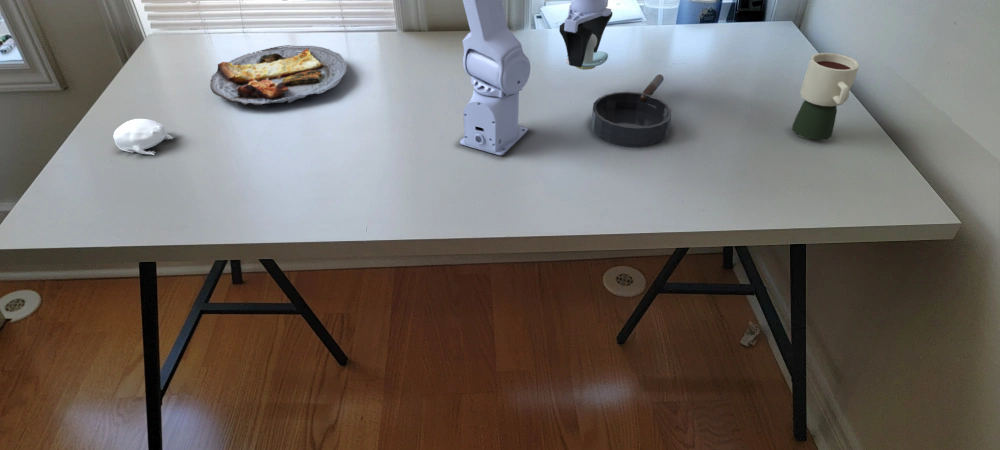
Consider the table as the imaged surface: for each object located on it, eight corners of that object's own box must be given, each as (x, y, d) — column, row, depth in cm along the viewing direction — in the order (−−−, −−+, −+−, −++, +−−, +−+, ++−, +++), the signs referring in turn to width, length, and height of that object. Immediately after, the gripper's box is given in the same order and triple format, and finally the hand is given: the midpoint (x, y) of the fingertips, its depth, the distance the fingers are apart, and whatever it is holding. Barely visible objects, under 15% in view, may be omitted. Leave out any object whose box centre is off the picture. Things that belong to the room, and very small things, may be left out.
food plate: (218, 122, 112) (213, 103, 110) (207, 70, 129) (202, 53, 127) (360, 95, 120) (358, 77, 118) (332, 49, 137) (330, 33, 135)
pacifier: (559, 61, 118) (570, 73, 113) (561, 27, 115) (573, 38, 110) (597, 57, 120) (610, 69, 115) (600, 23, 116) (613, 34, 111)
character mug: (846, 150, 105) (875, 75, 97) (803, 151, 105) (828, 76, 97) (816, 118, 114) (840, 47, 106) (777, 119, 114) (797, 48, 106)
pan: (654, 154, 104) (657, 135, 102) (579, 135, 109) (580, 116, 107) (677, 120, 113) (681, 102, 111) (607, 103, 118) (609, 85, 116)
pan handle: (646, 104, 114) (647, 96, 113) (637, 102, 114) (638, 94, 113) (664, 82, 121) (665, 74, 120) (655, 80, 121) (657, 72, 120)
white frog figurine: (179, 136, 108) (172, 116, 106) (154, 157, 103) (146, 136, 101) (137, 131, 110) (129, 111, 107) (110, 151, 104) (101, 131, 102)
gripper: (596, -4, 100) (588, 78, 109) (628, -28, 110) (618, 49, 119) (554, -11, 103) (550, 70, 111) (589, -34, 113) (583, 41, 121)
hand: (583, 58), depth 115 cm, fingers closed on pacifier, 6 cm apart
